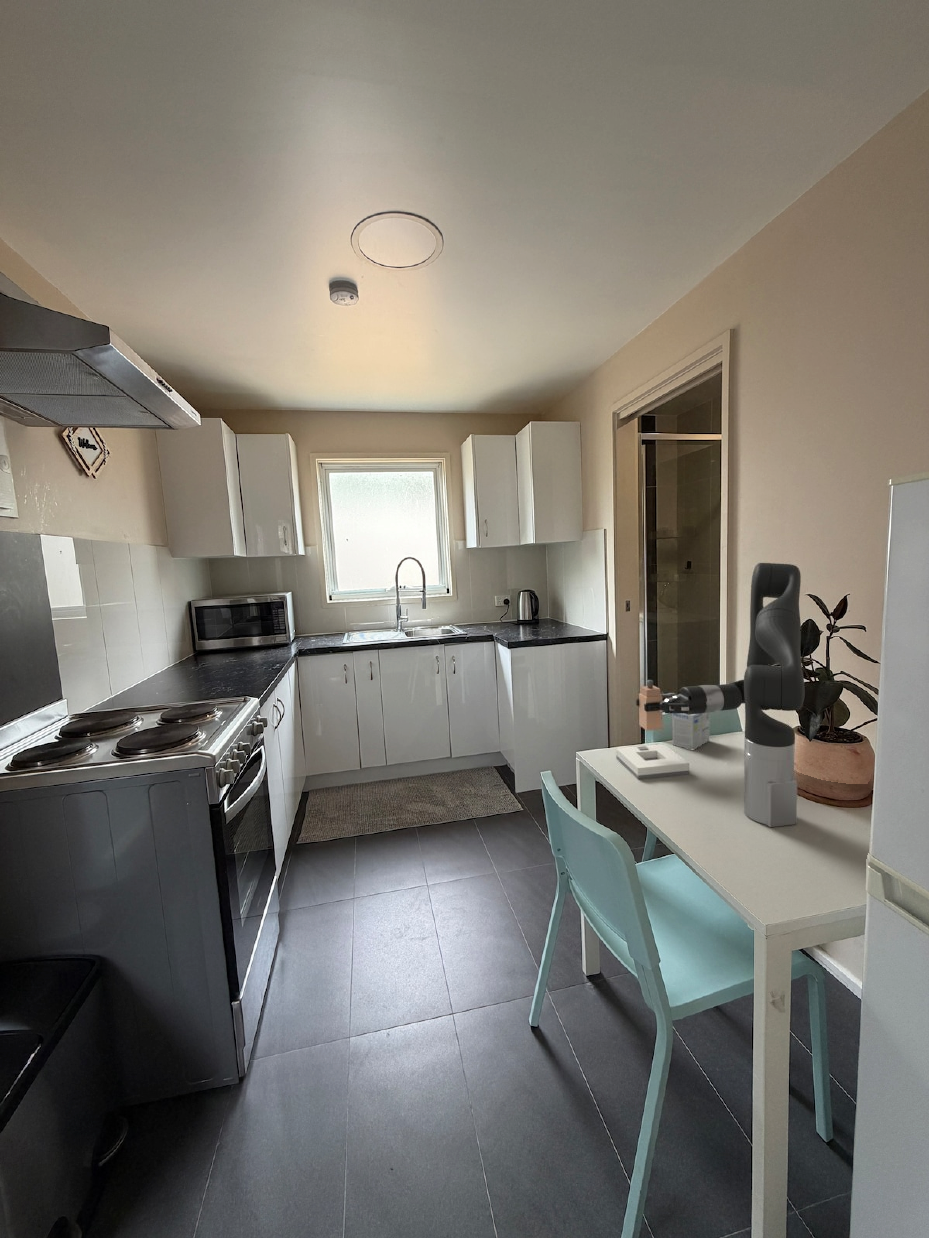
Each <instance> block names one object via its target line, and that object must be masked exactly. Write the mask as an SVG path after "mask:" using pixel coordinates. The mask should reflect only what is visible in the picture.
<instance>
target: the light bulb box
mask: <svg viewBox="0 0 929 1238" xmlns="http://www.w3.org/2000/svg"><path fill="white" fill-rule="evenodd" d="M671 714H672V715H671V716H672V745H673V744H674V745H676V746H675V747H678V746H681V747H680V748H682V747H684V748H683V749H686V748H688V749H687V750H690V749H694V750H696V749H697V747H698V746H699V747H701V746H702V744H703V745H705V744H706V743H708V742H709V741H710V713H701V714H691V715H687V714H685V713H671ZM707 741H708V742H707ZM674 745H673V746H674ZM699 747H698V748H699Z"/></svg>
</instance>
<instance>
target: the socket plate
mask: <svg viewBox="0 0 929 1238" xmlns="http://www.w3.org/2000/svg"><path fill="white" fill-rule="evenodd" d="M615 753H616V754H615V755H616V756H615V757H616V760H617V761H618V762H619V763H620V764H622V765H623V766H624V767H625V768H626V769H627V771H629V772H630V773H631V775H633V776H634V777H635V778H636V779H637V780H643V779H654V778H655V779H656V778H662V777H664V778H665V777H674V776H683V775H690V762H689V761H687V760H686V759H684V758H683V757H681V756H680V755H679V754H677V752H674V751H673V750H672V749H671V748H669V747H667V746H666V745H665V744H664V743H663V744H651V745H640V746H639V745H638V746H631V747H630V746H629V747H628V746H627V747H618V748H617V747H616V749H615Z"/></svg>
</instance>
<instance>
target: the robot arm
mask: <svg viewBox="0 0 929 1238" xmlns="http://www.w3.org/2000/svg"><path fill="white" fill-rule="evenodd" d="M801 575H802V574H801V571H800V568H799V567H798V566H797V565H794V564H790V563H789V564H788V563H775V562H774V563H773V562H772V563H771V562H758V563H757V564H756V565H755V567H754V569H753V572H752V576H751V584H750V605H749V606H750V607H749V623H750V624H749V626H750V629H749V642H748V643H749V644H748V650H747V651H748V653H747V658H746V659H747V660H746V669H745V671H744V675H743V679H740V680H737V681H734V682H730V683H728V684H727V683H726V684H725V683H724V684H714V685H713V684H702V685H692V686H691V685H690V686H682V687H681V688H680V689H679V691H678V692H677V693H675V692H668V693H667V692H666V691H665V690H662V691H661V690H660V696H662V701H660V702H659V703H658V702H652V703H645V704H644V710H645V711H646V712H649V711H660V712H662V713H663V712H664V714H667V715H668V714H672V713H685V714H687V715H691V714H701V713H709V714H710V713H716V712H723V711H731V710H732V711H733V710H735V709H738V708H740V707H741V705H742V704H744V710H745V711H744V712H745V713H744V714H745V715H744V719H745V720H744V751H743V752H744V757H743V758H744V761H743V762H744V764H743V766H744V770H743V771H744V772H743V773H744V776H743V777H744V778H743V811H744V812H743V813H744V814H745V815H746V816H747V817H748V818H749V819H751V820H753V821H755V822H757V823H760V824H763V825H765V826H767V827H769V828H771V827H772V828H774V827H783V826H791V825H797V818H798V817H797V812H798V811H797V809H798V805H797V804H798V781H797V780H796V779H795V753H796V752H795V751H796V749H795V748H796V747H795V743H796V732H795V730H794V728H792V727H791V726H790V725H789V724H787V723H785V722H782V721H779V720H778V719H775V718H773V717H772V716H770V715H768V714H767V713H765V712H764V711H768V710H772V711H773V710H775V711H786V712H793V711H798V710H800V709H801V708H802V706H803V705H804V701H805V695H806V694H805V693H806V691H805V690H806V688H805V679H804V671H803V665H802V664H803V663H802V656H801V645H802V644H801V642H802V627H801V626H802V624H801V615H800V593H801V582H802V581H801V580H802V579H801V578H802V577H801ZM764 598H770V599H771V598H772V599H774V600H773V601H771V602H770V603H768V604H767V605H765V606H764ZM800 630H801V631H800ZM774 662H777V663H778V665H776V666H769V665H767V664H772V663H774ZM635 704H636V706H637V707H639V697H637V698H636V699H635Z"/></svg>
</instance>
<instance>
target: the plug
mask: <svg viewBox="0 0 929 1238" xmlns="http://www.w3.org/2000/svg"><path fill="white" fill-rule="evenodd" d="M639 687H640V688H639V689H640V693H638V698H639V706H638V709H639V710H638V715H639V717H638V719H639V722H638V723H639V724H638V725H639V727H641V728H642V729H644V730H645V731H654V730H655V731H656V730H663V712H660V711H649V712H646V711H645V710H644V704H645V703H652V702H658V703H659V702H660V701H662V696H660V692H661V689H660V687H657V686H656V685H654V680H652V679H648V680H647V684H646V685H645V686H639Z"/></svg>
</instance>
